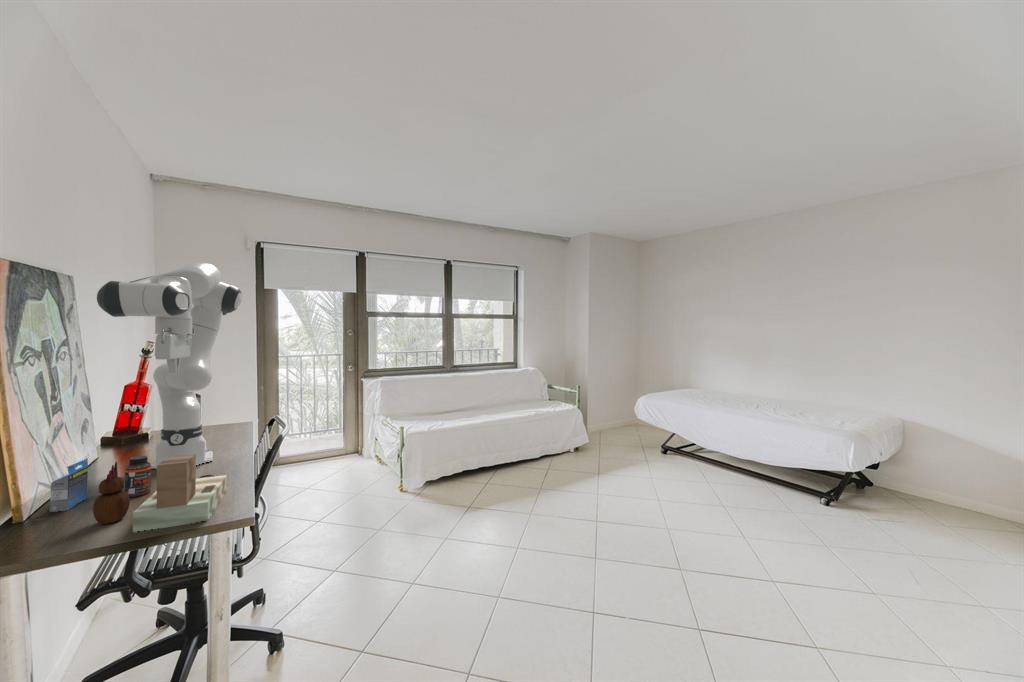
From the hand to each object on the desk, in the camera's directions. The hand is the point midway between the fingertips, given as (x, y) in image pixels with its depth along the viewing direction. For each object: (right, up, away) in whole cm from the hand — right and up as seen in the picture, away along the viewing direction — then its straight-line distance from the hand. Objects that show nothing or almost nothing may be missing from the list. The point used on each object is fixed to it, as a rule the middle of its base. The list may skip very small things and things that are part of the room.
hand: (173, 373), depth 124 cm
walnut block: (+17, -32, -19) cm, 41 cm away
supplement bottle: (-9, -37, -2) cm, 38 cm away
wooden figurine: (+1, -37, -20) cm, 42 cm away
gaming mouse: (+8, -38, +3) cm, 39 cm away
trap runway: (+14, -37, -13) cm, 42 cm away
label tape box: (-21, -37, -11) cm, 44 cm away
